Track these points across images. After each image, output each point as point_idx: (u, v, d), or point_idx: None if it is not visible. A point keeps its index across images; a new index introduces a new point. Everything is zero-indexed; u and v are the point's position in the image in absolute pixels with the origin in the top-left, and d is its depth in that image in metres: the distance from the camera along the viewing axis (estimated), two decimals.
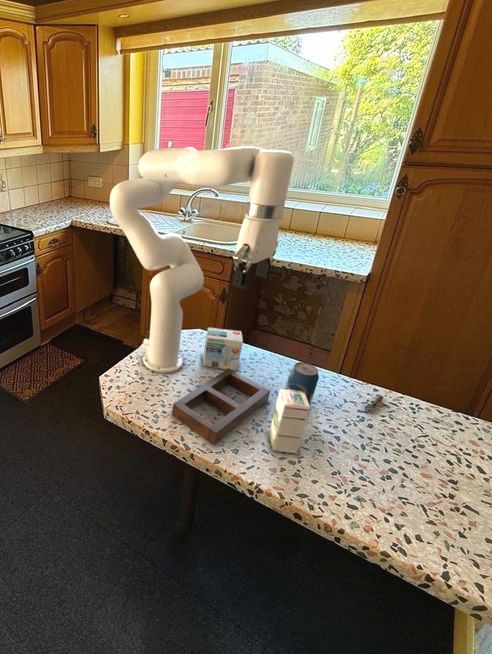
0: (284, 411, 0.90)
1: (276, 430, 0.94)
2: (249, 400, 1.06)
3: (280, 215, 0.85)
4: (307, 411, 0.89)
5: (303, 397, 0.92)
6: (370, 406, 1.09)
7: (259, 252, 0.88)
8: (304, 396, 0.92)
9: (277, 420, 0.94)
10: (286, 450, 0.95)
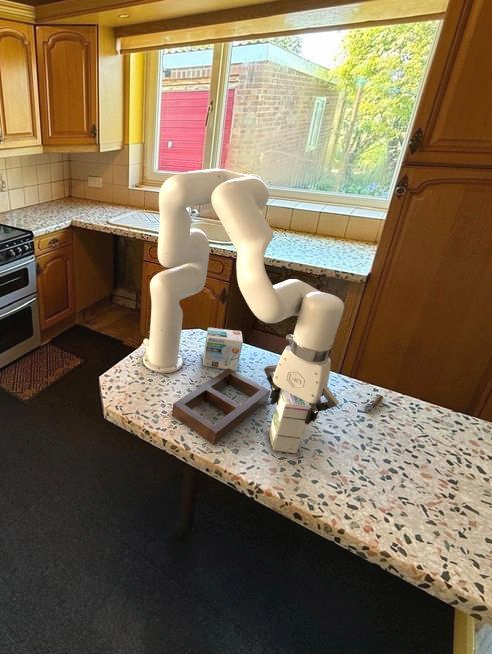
0: (284, 411, 0.90)
1: (276, 430, 0.94)
2: (249, 400, 1.06)
3: None
4: (307, 411, 0.89)
5: None
6: (370, 406, 1.09)
7: None
8: None
9: (277, 420, 0.94)
10: (286, 450, 0.95)
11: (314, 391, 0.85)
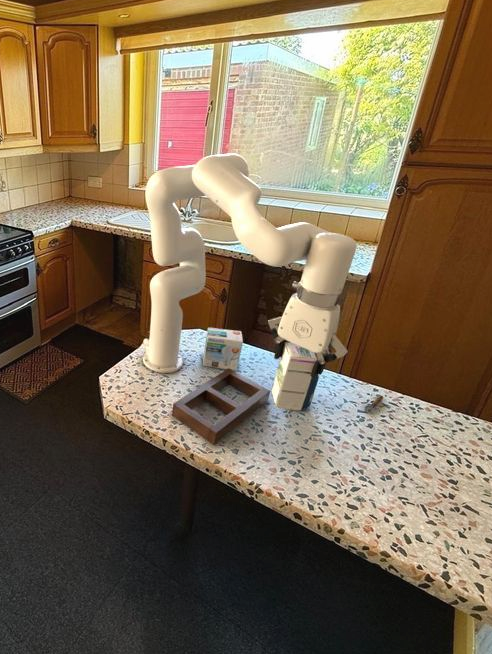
0: (289, 363, 0.85)
1: (280, 386, 0.89)
2: (249, 400, 1.06)
3: None
4: (314, 363, 0.84)
5: None
6: (370, 406, 1.09)
7: None
8: None
9: (281, 375, 0.89)
10: (290, 407, 0.91)
11: (322, 340, 0.80)
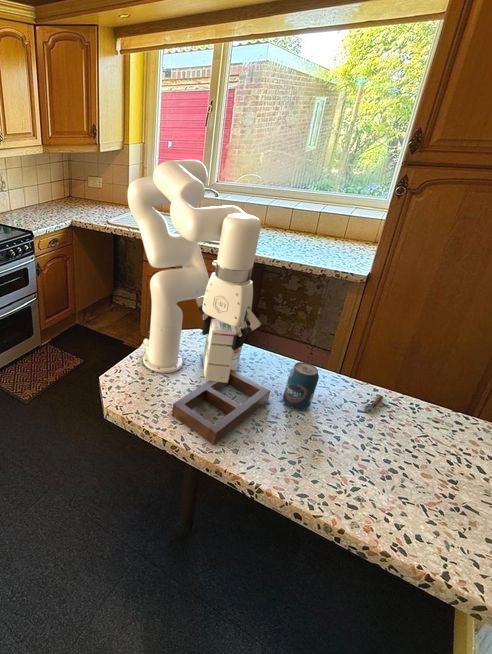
0: (212, 337, 0.92)
1: (207, 359, 0.95)
2: (249, 400, 1.06)
3: None
4: None
5: None
6: (370, 406, 1.09)
7: None
8: None
9: (208, 349, 0.95)
10: (217, 379, 0.97)
11: (237, 313, 0.86)
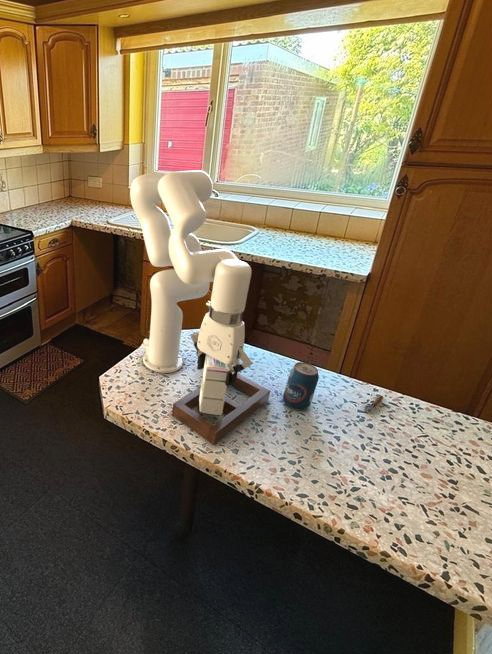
0: (206, 373, 0.96)
1: (202, 393, 1.00)
2: (249, 400, 1.06)
3: None
4: None
5: None
6: (370, 406, 1.09)
7: None
8: None
9: (202, 383, 1.00)
10: (212, 412, 1.01)
11: (229, 352, 0.91)
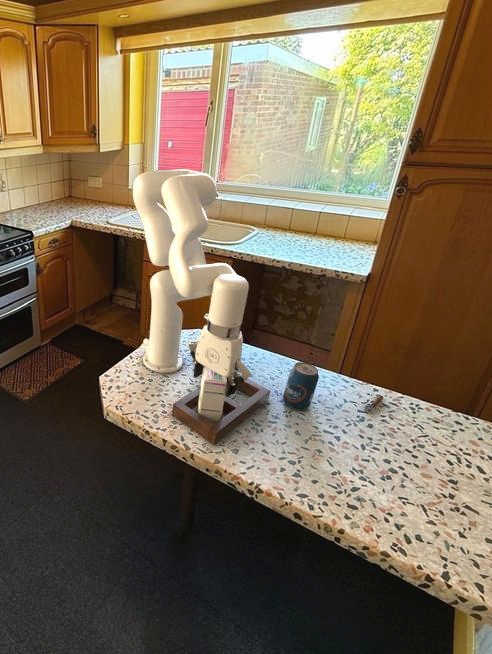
0: (204, 386, 0.98)
1: (200, 405, 1.02)
2: (249, 400, 1.06)
3: None
4: (224, 386, 0.97)
5: None
6: (370, 406, 1.09)
7: None
8: None
9: (200, 395, 1.02)
10: None
11: (227, 365, 0.92)
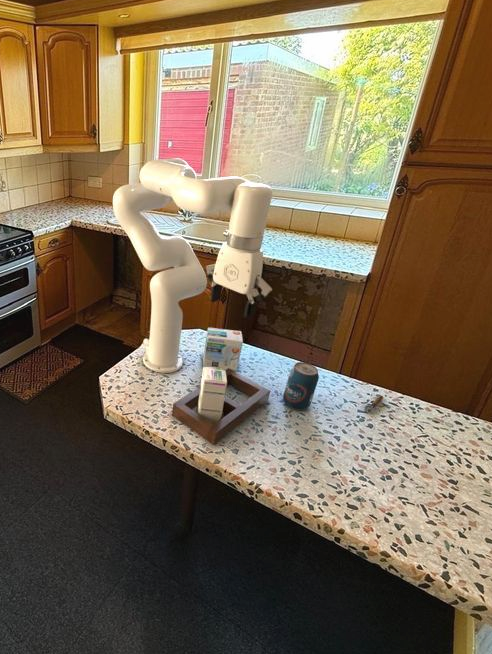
0: (204, 386, 0.98)
1: (200, 405, 1.02)
2: (249, 400, 1.06)
3: None
4: (224, 386, 0.97)
5: (223, 373, 0.99)
6: (370, 406, 1.09)
7: None
8: (224, 373, 1.00)
9: (200, 395, 1.02)
10: None
11: (246, 280, 0.89)
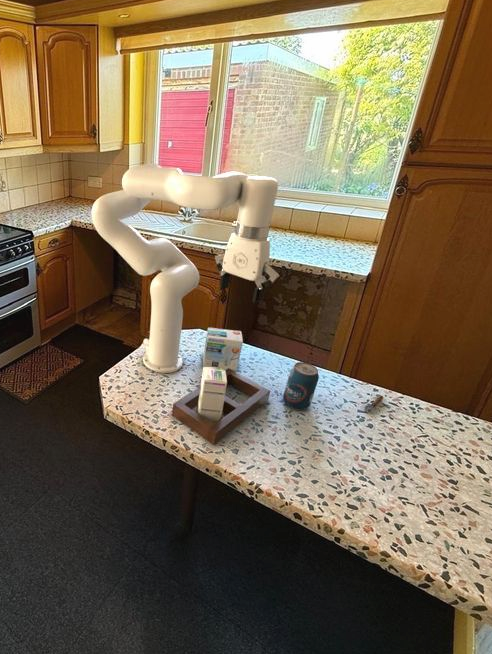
0: (204, 386, 0.98)
1: (200, 405, 1.02)
2: (249, 400, 1.06)
3: None
4: (224, 386, 0.97)
5: (223, 373, 0.99)
6: (370, 406, 1.09)
7: None
8: (224, 373, 1.00)
9: (200, 395, 1.02)
10: None
11: (255, 268, 0.95)
